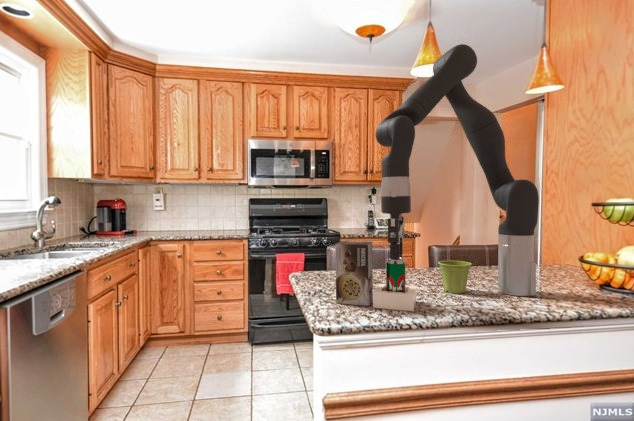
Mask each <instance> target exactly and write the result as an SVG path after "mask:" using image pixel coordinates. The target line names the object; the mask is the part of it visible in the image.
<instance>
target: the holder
mask: <svg viewBox="0 0 634 421" xmlns="http://www.w3.org/2000/svg"><path fill="white" fill-rule="evenodd" d="M417 288H418V287H417V286H415V285H406V293H402V292H389V291H386V283H379V284H378V285H377V286H376V287H375V289H373V301H372V308H374V309H376V308H377V309H385V310H395V311H406V312H407V311H408V312H414V311H415V309H416V308H415V307H416V304H417V294H418V292H417Z"/></svg>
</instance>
